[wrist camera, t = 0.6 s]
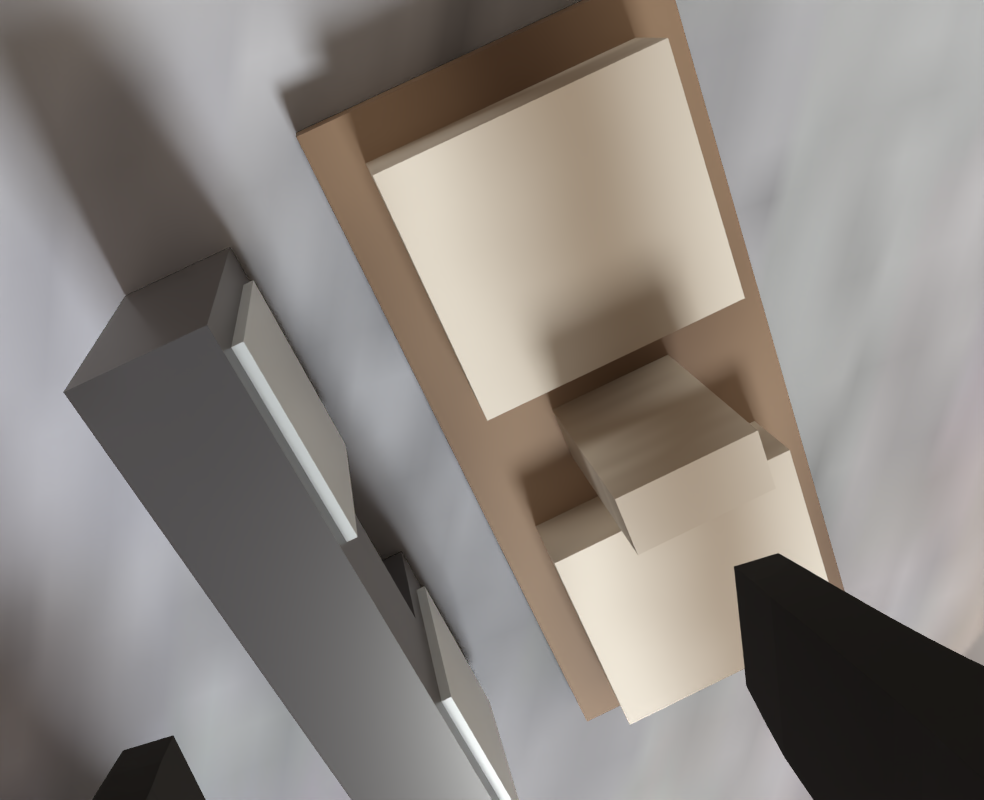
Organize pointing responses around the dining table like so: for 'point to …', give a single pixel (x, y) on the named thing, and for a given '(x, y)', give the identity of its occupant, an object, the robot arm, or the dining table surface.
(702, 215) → the display stand
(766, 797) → the dining table surface
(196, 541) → the grey upright panel
